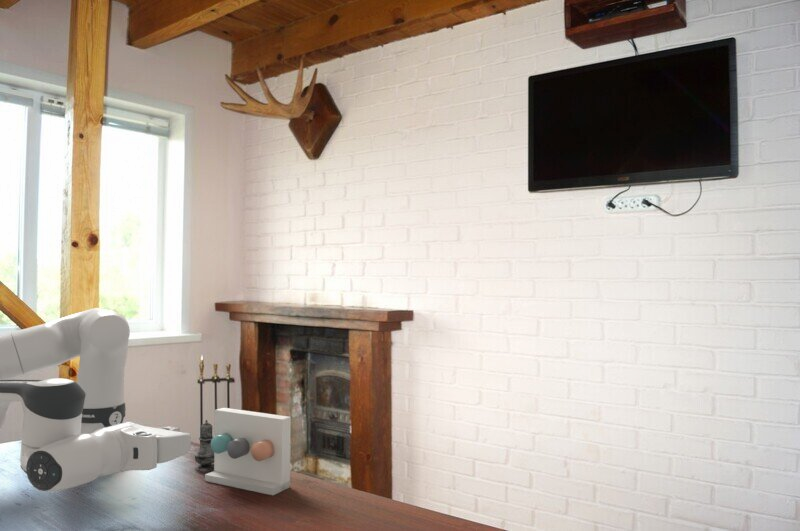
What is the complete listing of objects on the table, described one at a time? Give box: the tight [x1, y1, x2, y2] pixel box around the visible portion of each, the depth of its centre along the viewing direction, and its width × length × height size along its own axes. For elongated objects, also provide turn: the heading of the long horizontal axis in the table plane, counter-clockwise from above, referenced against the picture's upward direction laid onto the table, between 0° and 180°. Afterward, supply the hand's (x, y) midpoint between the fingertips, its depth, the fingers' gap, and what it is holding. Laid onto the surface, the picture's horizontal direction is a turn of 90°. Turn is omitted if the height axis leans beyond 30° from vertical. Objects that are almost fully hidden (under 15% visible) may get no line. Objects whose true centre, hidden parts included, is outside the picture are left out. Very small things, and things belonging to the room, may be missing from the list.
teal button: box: [211, 433, 233, 454], centre depth 146 cm, size 4×3×4 cm
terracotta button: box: [251, 440, 274, 461], centre depth 140 cm, size 4×3×4 cm
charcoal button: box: [227, 438, 250, 459], centre depth 142 cm, size 4×3×4 cm
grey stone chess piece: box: [193, 419, 214, 472], centre depth 157 cm, size 6×6×12 cm
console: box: [204, 407, 292, 496], centre depth 145 cm, size 20×6×16 cm, turn 63°
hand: (174, 430), depth 133 cm, fingers closed
